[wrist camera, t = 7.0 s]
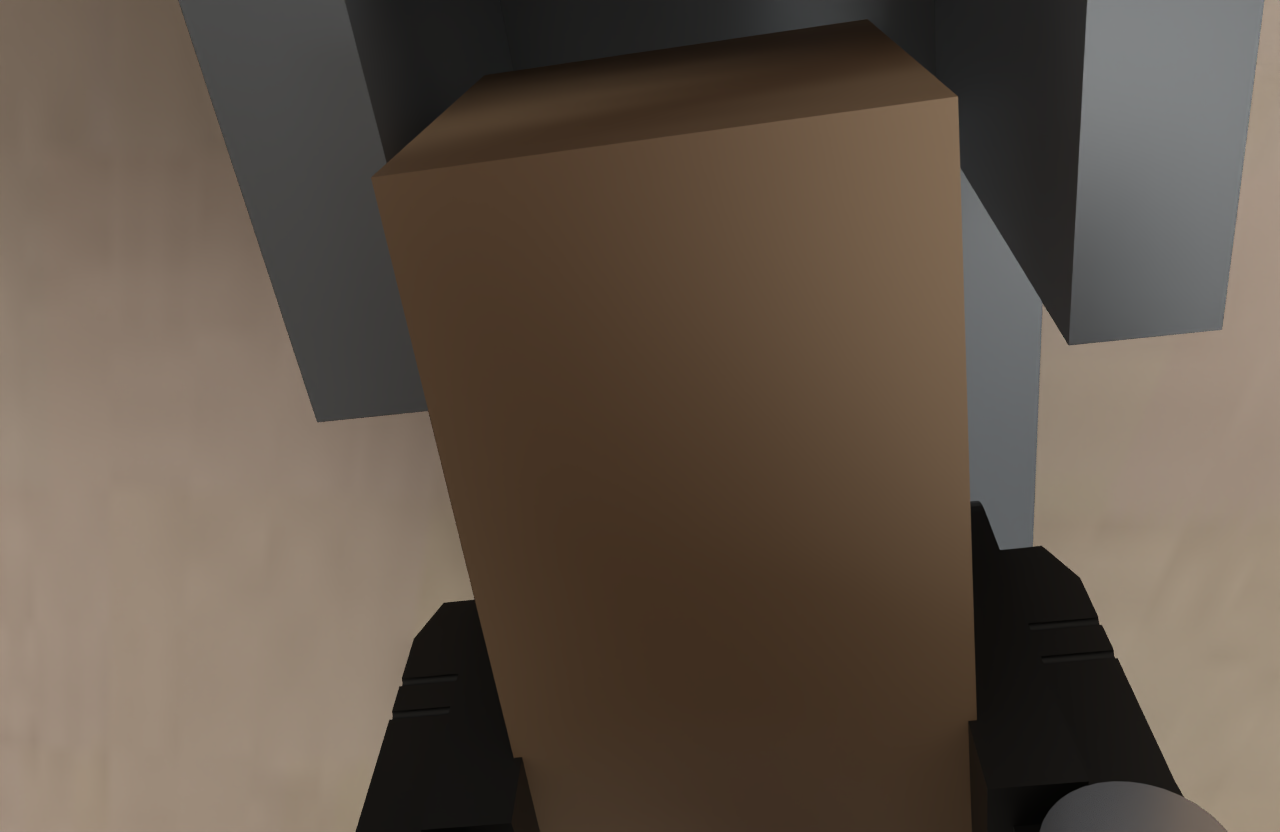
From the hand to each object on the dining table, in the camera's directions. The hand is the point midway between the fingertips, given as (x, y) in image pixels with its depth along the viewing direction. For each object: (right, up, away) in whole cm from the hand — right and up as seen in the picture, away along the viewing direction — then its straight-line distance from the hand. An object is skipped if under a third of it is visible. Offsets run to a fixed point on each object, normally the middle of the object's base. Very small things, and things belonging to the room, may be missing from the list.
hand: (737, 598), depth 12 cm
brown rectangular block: (0, 0, +1) cm, 1 cm away
